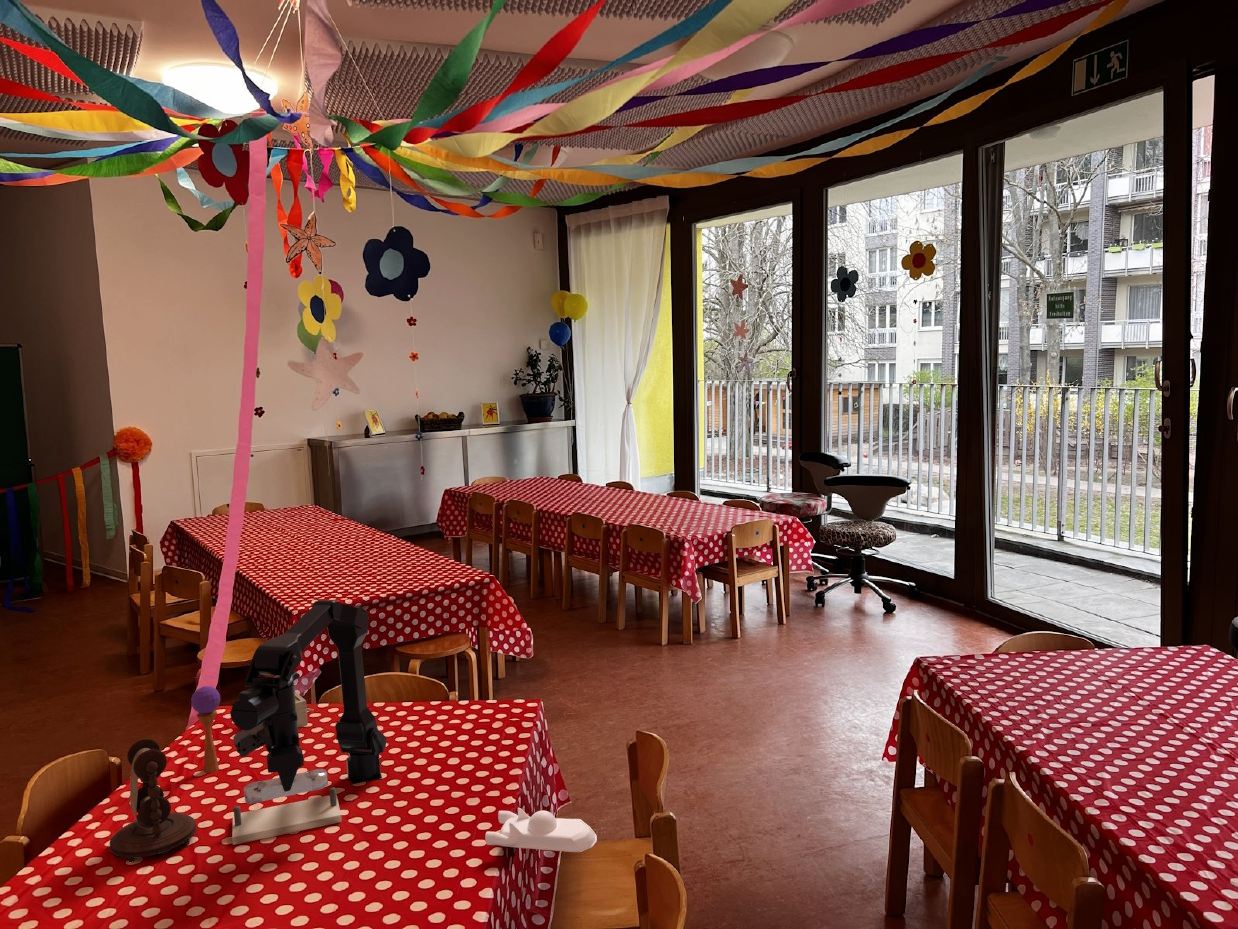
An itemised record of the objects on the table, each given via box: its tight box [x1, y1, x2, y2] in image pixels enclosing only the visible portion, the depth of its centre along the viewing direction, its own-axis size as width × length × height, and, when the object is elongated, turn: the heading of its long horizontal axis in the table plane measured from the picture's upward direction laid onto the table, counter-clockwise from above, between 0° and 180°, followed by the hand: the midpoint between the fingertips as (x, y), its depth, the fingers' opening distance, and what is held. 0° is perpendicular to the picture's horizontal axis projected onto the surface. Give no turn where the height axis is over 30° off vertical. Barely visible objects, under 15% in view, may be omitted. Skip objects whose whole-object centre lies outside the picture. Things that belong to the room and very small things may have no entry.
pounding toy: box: [295, 691, 314, 728], centre depth 234 cm, size 18×17×8 cm
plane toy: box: [485, 807, 598, 853], centre depth 169 cm, size 10×20×6 cm, turn 81°
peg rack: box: [231, 787, 342, 845], centre depth 179 cm, size 20×10×5 cm, turn 113°
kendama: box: [190, 685, 221, 773], centre depth 203 cm, size 6×6×20 cm
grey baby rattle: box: [243, 768, 329, 805], centre depth 172 cm, size 15×4×2 cm, turn 113°
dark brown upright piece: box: [109, 738, 197, 863], centre depth 171 cm, size 15×15×20 cm
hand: (286, 786), depth 172 cm, fingers closed on grey baby rattle, 3 cm apart
